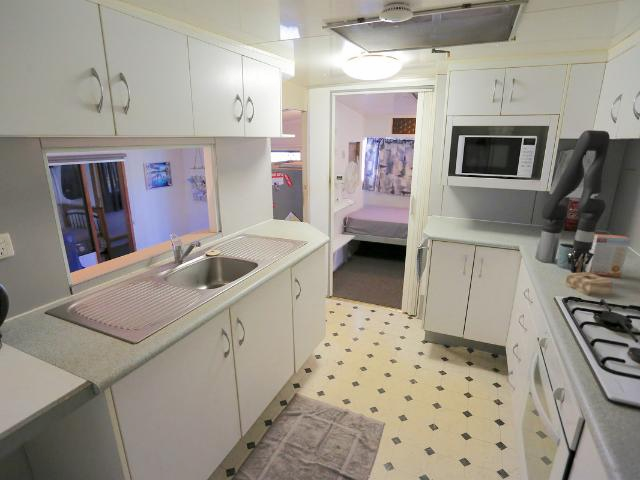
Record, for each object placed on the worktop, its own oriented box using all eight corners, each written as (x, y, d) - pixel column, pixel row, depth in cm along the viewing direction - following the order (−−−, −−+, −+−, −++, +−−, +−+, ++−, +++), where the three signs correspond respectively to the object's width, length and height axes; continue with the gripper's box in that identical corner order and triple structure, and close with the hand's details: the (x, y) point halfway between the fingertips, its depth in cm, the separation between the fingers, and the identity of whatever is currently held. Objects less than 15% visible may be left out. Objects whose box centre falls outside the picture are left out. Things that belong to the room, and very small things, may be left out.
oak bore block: (565, 285, 172) (567, 273, 171) (585, 283, 175) (588, 272, 173) (587, 295, 161) (591, 283, 159) (609, 293, 164) (612, 281, 162)
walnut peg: (569, 277, 183) (574, 256, 180) (574, 276, 183) (579, 256, 180) (575, 279, 180) (579, 258, 177) (580, 279, 180) (585, 258, 177)
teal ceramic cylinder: (552, 266, 198) (556, 245, 195) (558, 262, 205) (563, 242, 201) (573, 271, 191) (578, 249, 188) (579, 267, 197) (584, 246, 194)
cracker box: (615, 274, 188) (625, 235, 182) (620, 278, 183) (631, 238, 177) (583, 270, 192) (593, 233, 186) (588, 274, 187) (597, 235, 181)
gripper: (588, 236, 181) (581, 269, 186) (565, 237, 178) (558, 270, 183) (602, 240, 174) (594, 274, 179) (578, 242, 171) (571, 276, 176)
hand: (576, 272), depth 181 cm, fingers closed on walnut peg, 3 cm apart
